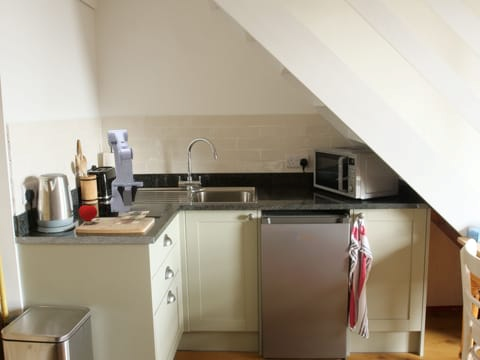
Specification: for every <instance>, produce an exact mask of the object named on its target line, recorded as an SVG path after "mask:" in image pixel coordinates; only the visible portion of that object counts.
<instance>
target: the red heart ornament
mask: <svg viewBox="0 0 480 360" xmlns="http://www.w3.org/2000/svg"><path fill="white" fill-rule="evenodd" d="M78 215H79V217H80V218H81V219H82V220H83V221H84V222H85V224H86V225H91V224H93V222H92V221H93V220H94V219H95V218H96V217H97V215H98V210H97V207H96V206H95V205H87V204H84V205H81V206H80V207H79V209H78Z"/></svg>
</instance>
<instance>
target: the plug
mask: <svg viewBox="0 0 480 360" xmlns="http://www.w3.org/2000/svg"><path fill="white" fill-rule="evenodd" d="M123 202H124V206H130V207H132V206H134V205H135V201H134V202H132V192H131V190H125V191H123Z"/></svg>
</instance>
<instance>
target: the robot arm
mask: <svg viewBox="0 0 480 360" xmlns="http://www.w3.org/2000/svg"><path fill="white" fill-rule="evenodd" d="M106 132H107V135H106V136H107V144H108V147H110V148H112V150H113V156H114V157H113V158H114V167H115V177H116V178H115V179H114V180H112V182H111V195H112V197H111V198H110V210H111V213H122V212H124V213H126V212H130V211H131V206H124V202H123V191H125V190H131V192H132V202H134V203H135V201H136V195H137V192H138V190H139V188H140V187H143V186H144V181H134V171H133V159H134V151H133V148H132V147H130V145H129V143H128V140H129V134H128V130H127V129H126V128H125V129H108V130H107V131H106Z"/></svg>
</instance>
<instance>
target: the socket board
mask: <svg viewBox="0 0 480 360" xmlns="http://www.w3.org/2000/svg"><path fill="white" fill-rule="evenodd" d="M149 213H150V210H137V211H135V210H134V211H126V212H124V214H122V215H121V216H120V217H119V218H118V219H117V220H116V221H114V222H113V223H112V225H126V224H127V225H128V224H130V225H131V224H139V223H140V222H141V221H142V220H143V219H144V218H145V217H146V216H147V215H148V214H149ZM131 214H139V215H131ZM125 220H126V221H125Z"/></svg>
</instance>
